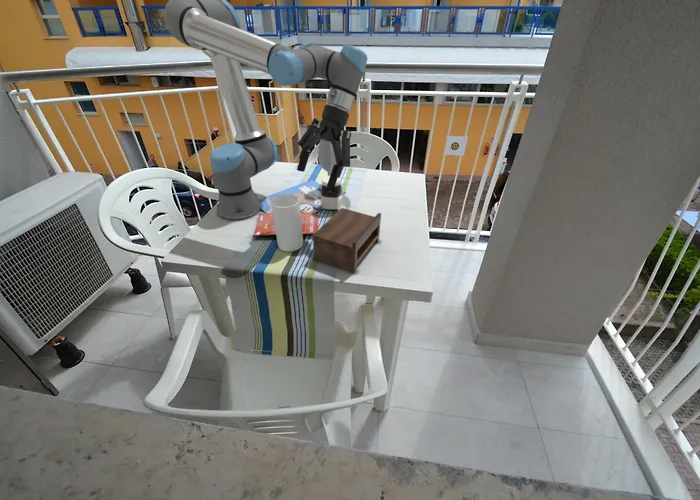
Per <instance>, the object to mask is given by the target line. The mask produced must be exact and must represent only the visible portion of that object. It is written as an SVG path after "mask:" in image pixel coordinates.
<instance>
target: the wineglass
mask: <svg viewBox="0 0 700 500" xmlns="http://www.w3.org/2000/svg"><path fill="white" fill-rule="evenodd" d="M317 155H318V156H317V157H318V158H317V159H318V163H319V166H320V168H321V169H323V170H324V171H325V172H327V176H330V175H331V172H332V169H333V166H334V165H335V164H336V159H335V155H334V150H333V145H332V144H331V142H330V141H327V140H326V139H322V140H320V141H319V144H318V152H317ZM321 187H322V183H321V184H320V186H319V187H318V189H319V190H321Z"/></svg>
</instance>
